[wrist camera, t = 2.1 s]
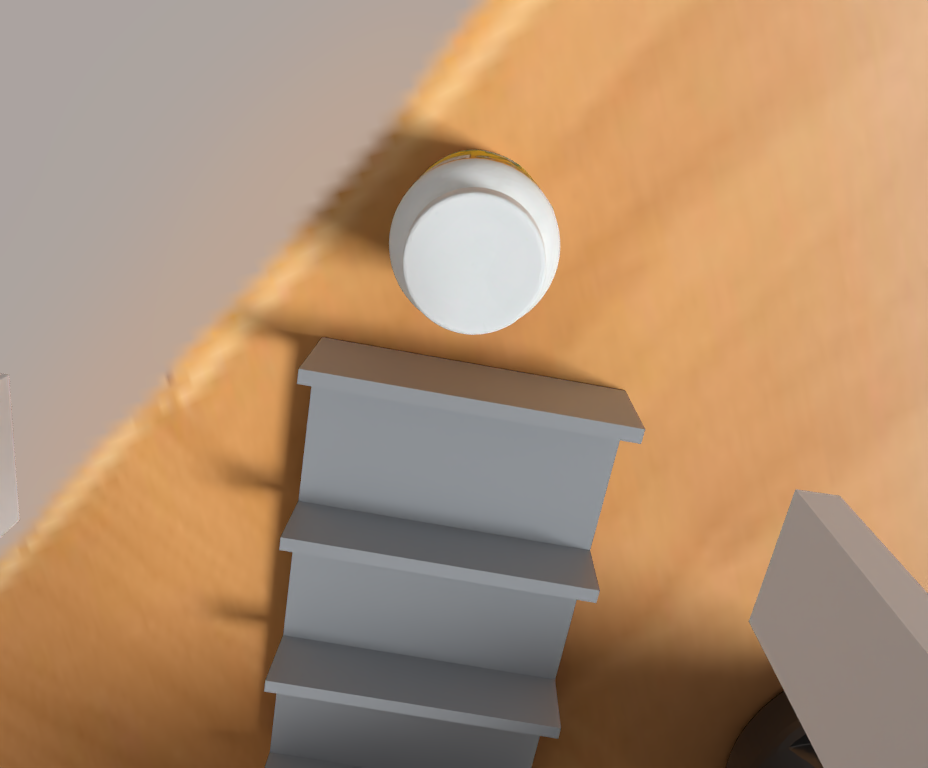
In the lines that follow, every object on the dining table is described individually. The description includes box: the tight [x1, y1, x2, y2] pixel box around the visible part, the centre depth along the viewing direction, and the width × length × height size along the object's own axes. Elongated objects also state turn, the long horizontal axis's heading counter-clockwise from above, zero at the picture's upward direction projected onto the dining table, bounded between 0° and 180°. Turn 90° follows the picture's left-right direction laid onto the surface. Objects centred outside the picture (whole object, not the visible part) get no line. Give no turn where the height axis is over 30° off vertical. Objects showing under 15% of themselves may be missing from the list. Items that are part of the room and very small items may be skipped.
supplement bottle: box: [389, 150, 560, 335], centre depth 25 cm, size 5×5×10 cm
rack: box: [264, 337, 645, 768], centre depth 33 cm, size 13×22×4 cm, turn 170°
